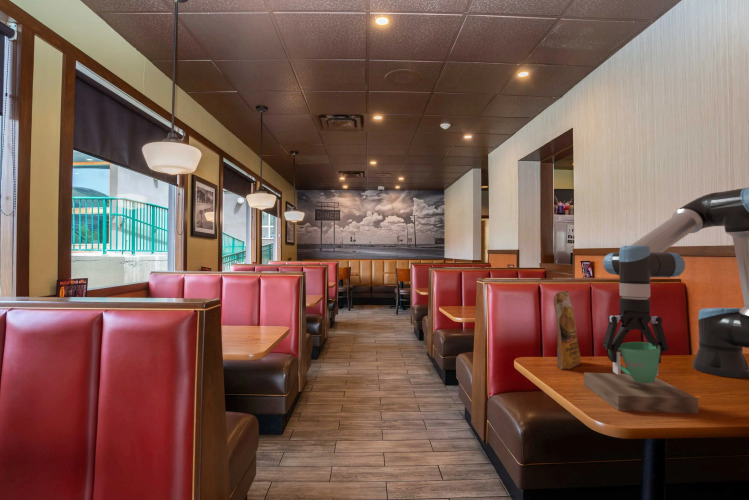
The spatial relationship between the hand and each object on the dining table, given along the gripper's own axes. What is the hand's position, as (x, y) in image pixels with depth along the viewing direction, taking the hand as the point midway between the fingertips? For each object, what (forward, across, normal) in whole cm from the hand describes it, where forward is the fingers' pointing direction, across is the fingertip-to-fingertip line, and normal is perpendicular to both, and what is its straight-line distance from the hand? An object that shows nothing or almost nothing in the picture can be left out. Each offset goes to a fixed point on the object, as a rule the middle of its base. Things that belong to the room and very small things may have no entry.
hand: (635, 373), depth 110 cm
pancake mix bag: (+7, +6, -33) cm, 34 cm away
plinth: (+7, 0, 0) cm, 7 cm away
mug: (+2, 0, 0) cm, 2 cm away
